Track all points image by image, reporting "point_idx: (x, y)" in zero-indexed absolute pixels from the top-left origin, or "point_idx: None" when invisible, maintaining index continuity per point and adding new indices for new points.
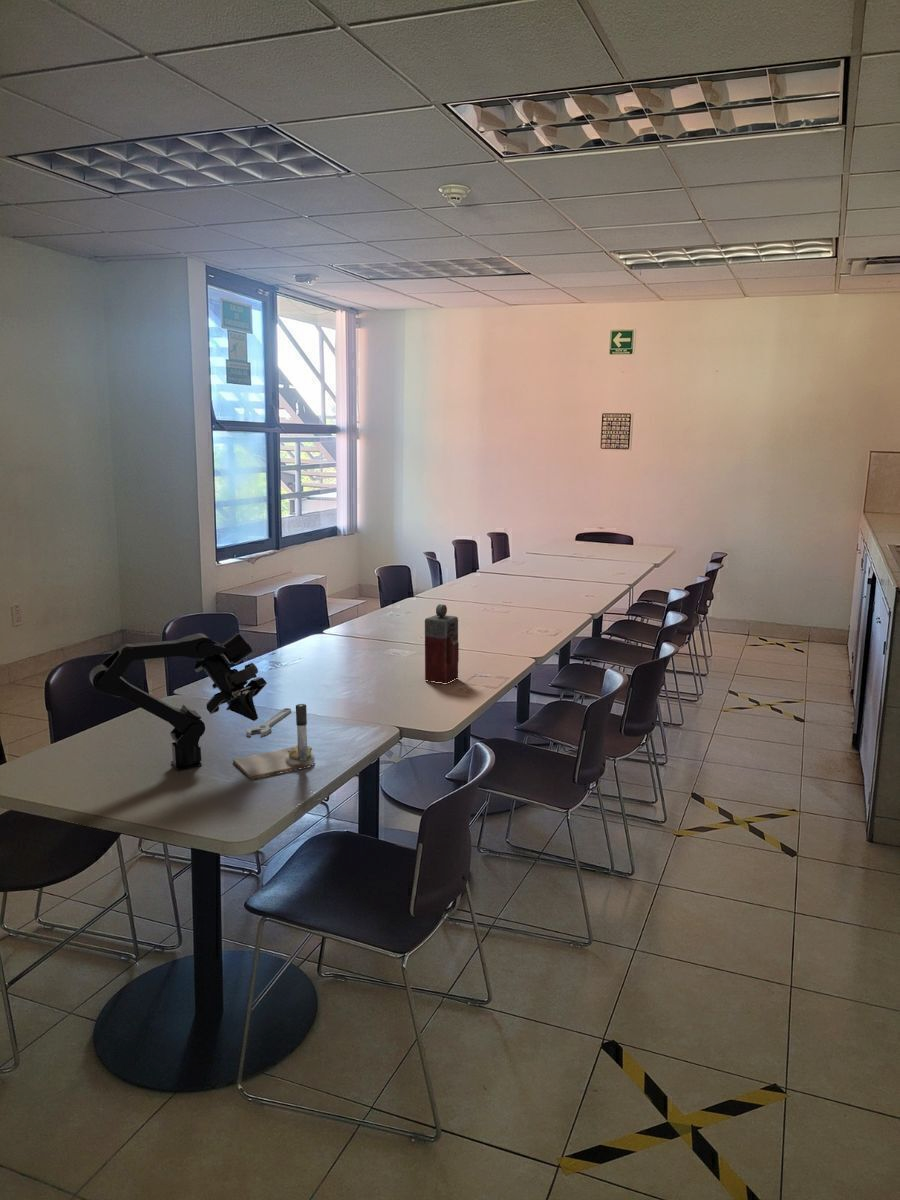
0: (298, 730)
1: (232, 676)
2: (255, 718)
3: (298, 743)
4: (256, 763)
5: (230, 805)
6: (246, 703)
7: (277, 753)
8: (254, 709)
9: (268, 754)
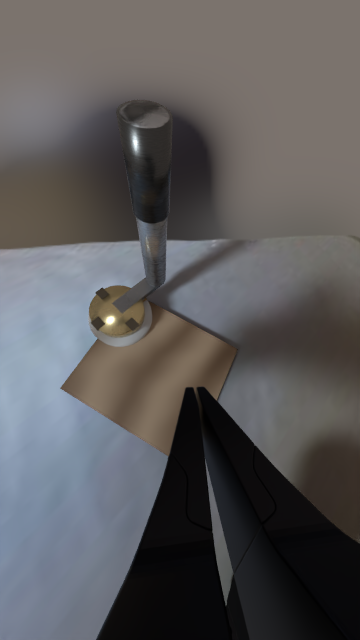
0: (166, 228)
1: None
2: (204, 388)
3: (165, 258)
4: (180, 389)
5: (319, 311)
6: (260, 505)
7: (105, 389)
8: (185, 428)
9: (120, 405)
